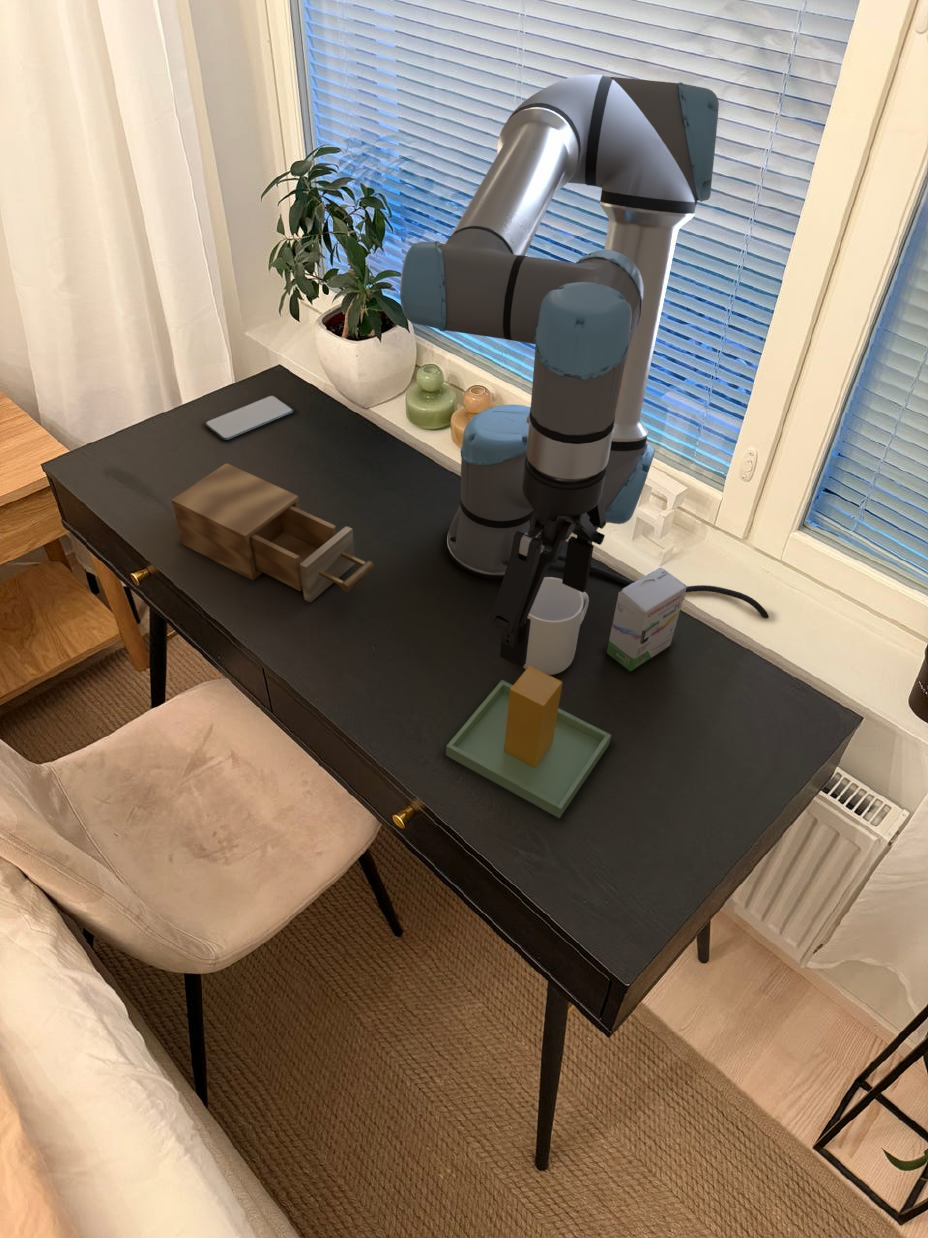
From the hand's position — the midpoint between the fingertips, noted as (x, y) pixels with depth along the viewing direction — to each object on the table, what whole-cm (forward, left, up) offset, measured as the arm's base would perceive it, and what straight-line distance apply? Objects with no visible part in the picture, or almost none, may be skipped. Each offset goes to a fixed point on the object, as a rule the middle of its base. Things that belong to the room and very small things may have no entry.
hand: (544, 622), depth 97 cm
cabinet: (+57, -9, -23) cm, 62 cm away
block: (0, 0, -22) cm, 22 cm away
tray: (0, 0, -23) cm, 23 cm away
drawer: (+43, -9, -22) cm, 49 cm away
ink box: (-4, -24, -23) cm, 33 cm away
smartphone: (+80, -36, -23) cm, 90 cm away
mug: (+6, -17, -23) cm, 29 cm away
